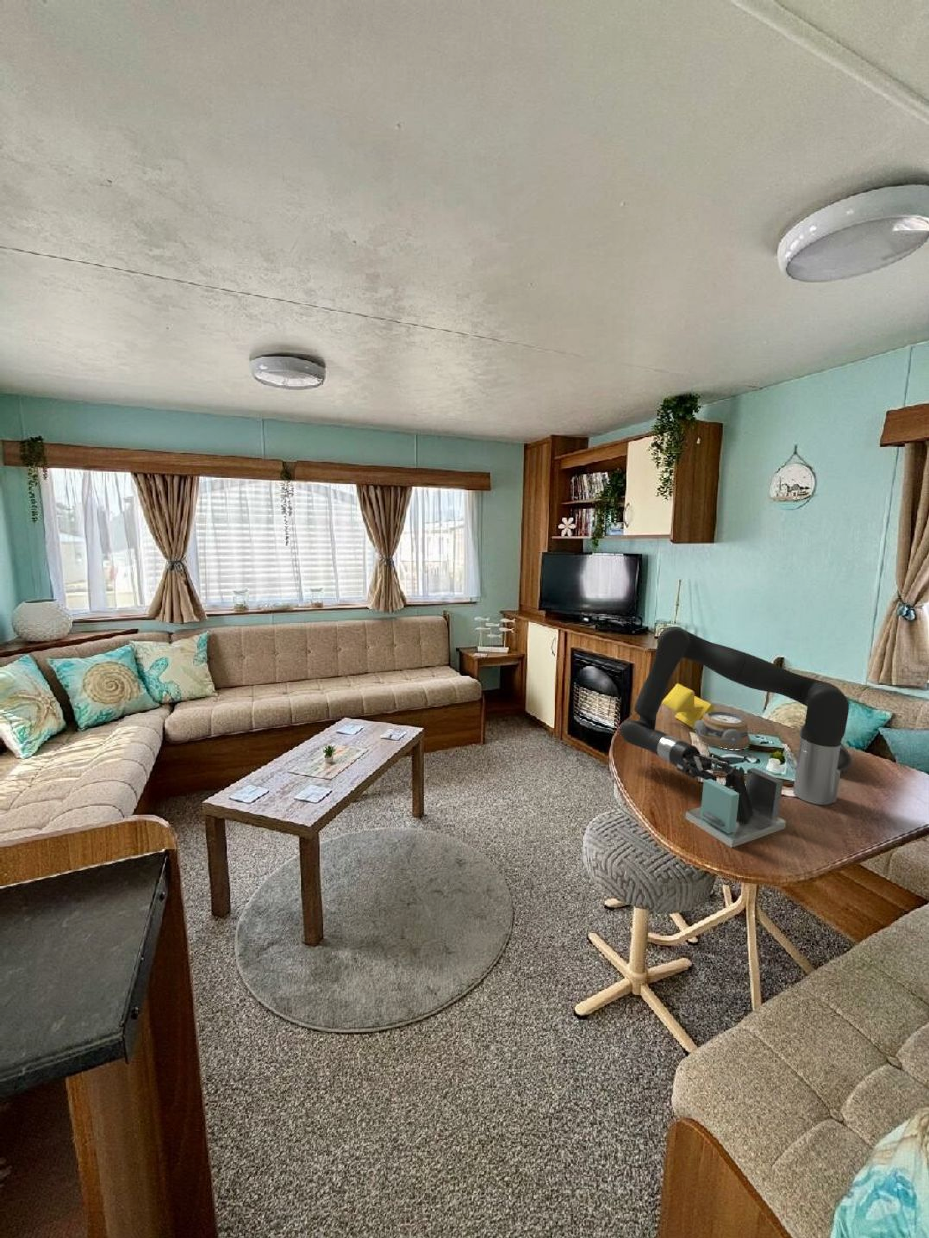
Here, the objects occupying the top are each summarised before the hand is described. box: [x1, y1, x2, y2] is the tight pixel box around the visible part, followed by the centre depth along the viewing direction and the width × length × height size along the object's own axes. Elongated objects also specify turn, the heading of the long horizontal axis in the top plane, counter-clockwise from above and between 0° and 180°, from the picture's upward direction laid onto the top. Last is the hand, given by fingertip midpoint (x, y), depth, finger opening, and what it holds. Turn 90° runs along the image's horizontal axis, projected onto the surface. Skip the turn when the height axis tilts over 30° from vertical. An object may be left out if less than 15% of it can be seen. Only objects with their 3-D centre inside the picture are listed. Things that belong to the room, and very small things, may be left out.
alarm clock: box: [692, 710, 751, 749], centre depth 178 cm, size 17×9×23 cm
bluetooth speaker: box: [799, 724, 852, 772], centre depth 164 cm, size 23×9×10 cm, turn 160°
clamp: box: [661, 683, 718, 729], centre depth 197 cm, size 14×25×12 cm
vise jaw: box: [700, 779, 739, 834], centre depth 122 cm, size 8×4×10 cm, turn 25°
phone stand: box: [723, 765, 753, 824], centre depth 128 cm, size 9×6×12 cm, turn 48°
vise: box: [685, 767, 787, 849], centre depth 127 cm, size 14×20×12 cm
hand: (727, 777), depth 129 cm, fingers open, 8 cm apart
